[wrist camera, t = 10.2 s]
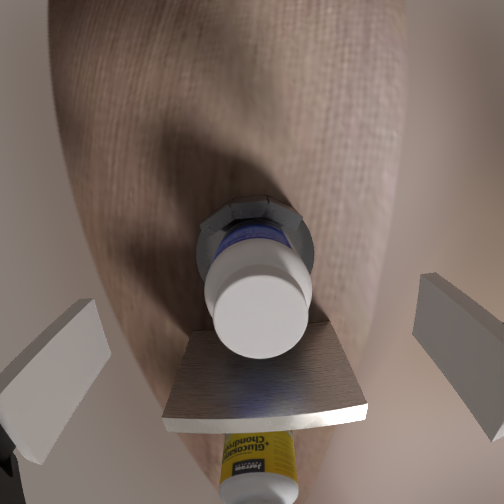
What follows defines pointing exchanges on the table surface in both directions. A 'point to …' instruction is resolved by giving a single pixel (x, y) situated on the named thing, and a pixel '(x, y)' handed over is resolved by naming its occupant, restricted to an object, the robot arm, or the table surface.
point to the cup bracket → (261, 370)
